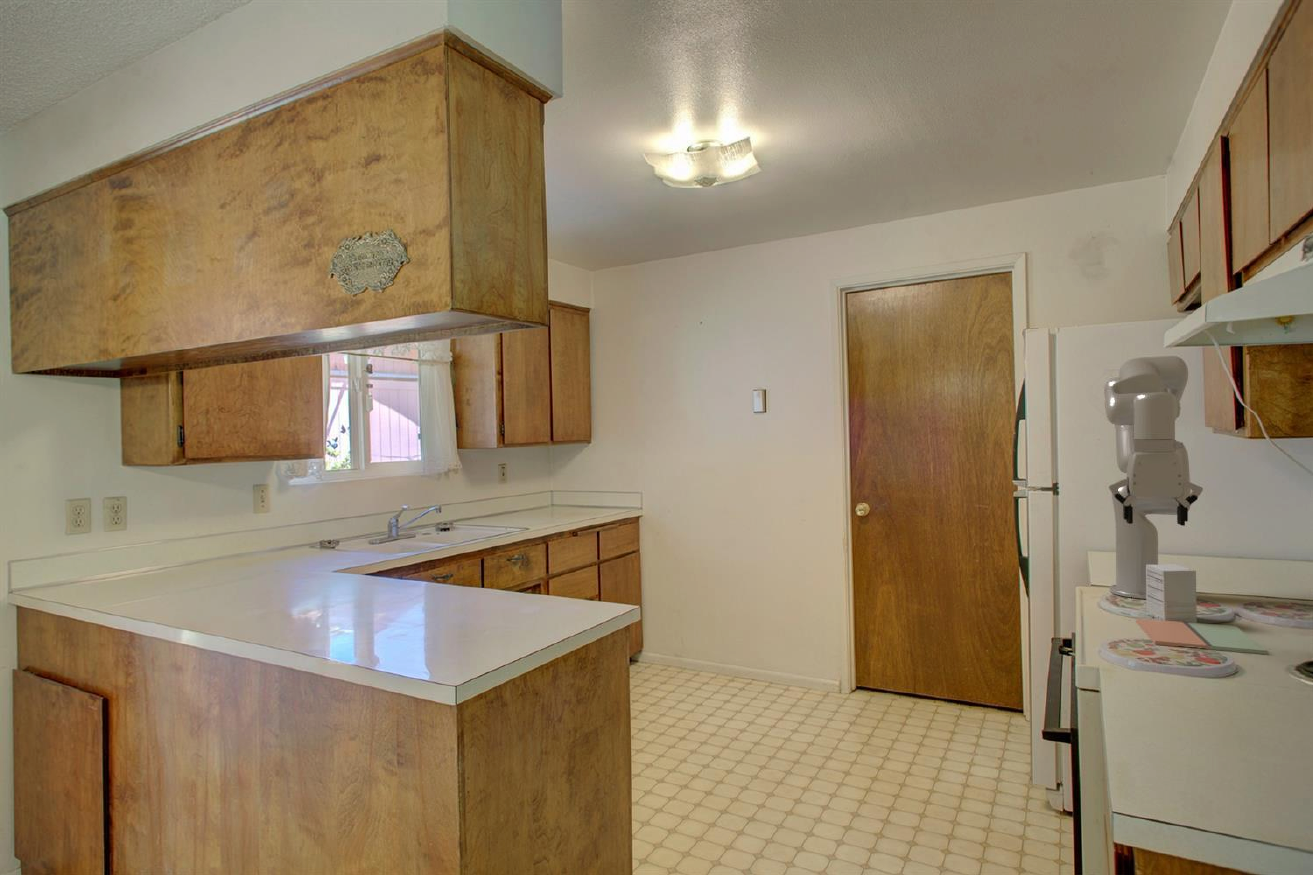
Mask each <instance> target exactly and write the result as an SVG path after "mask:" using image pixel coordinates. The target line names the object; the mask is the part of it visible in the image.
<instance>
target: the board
mask: <svg viewBox="0 0 1313 875" xmlns="http://www.w3.org/2000/svg"><path fill="white" fill-rule="evenodd" d="M1135 623H1136V624H1137V625H1138V626H1139V627H1140V628H1141V630H1142V631H1143V632H1144V633H1145V634H1146V636H1147V637H1148V638H1149V640H1150V641H1151V642H1152V643H1153V644H1154V645H1157V646H1167V647H1168V646H1169V647H1178V646H1194V647H1201V648H1206V649H1205V650H1212V651H1213V650H1214V651H1224V652H1236V653H1246V654H1258V655H1268V649H1266V648H1265V647H1263V646H1262V645H1261V644H1259V643H1258V642H1257V641H1255V640H1254V639H1253V638H1252V637H1250V636H1249V635H1248V634H1246V633H1245V632H1244V631H1243V630H1241V629H1240V628H1239V627H1237V626H1236V625H1227V624H1212V623H1201V622H1200V623H1199V622H1197V623H1190V622H1177V621H1164V620H1156V619H1148V618H1139V617H1138V618H1136V617H1135Z"/></svg>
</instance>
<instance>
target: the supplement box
mask: <svg viewBox="0 0 1313 875" xmlns="http://www.w3.org/2000/svg"><path fill="white" fill-rule="evenodd" d="M1145 600H1146V601H1145V603H1146V612H1147V611H1149V612H1151V613H1153V614H1154V615H1155V616H1156V617H1157V618H1158V620H1164V621H1177V622H1190V623H1198V621H1197V620H1198V619H1197V618H1198V617H1197V616H1198V615H1197V611H1198V610H1197V571H1196V570H1195V569H1192V568H1189V567H1186V566H1182V565H1180V564H1175V563H1173V564H1170V563H1169V564H1158V565H1146V599H1145Z"/></svg>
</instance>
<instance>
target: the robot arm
mask: <svg viewBox="0 0 1313 875" xmlns="http://www.w3.org/2000/svg"><path fill="white" fill-rule="evenodd" d="M1118 374H1119V375H1118V377H1113V378H1111V379H1109V380H1107V382H1105V385H1104V387H1103V388H1104V392H1103V395H1104V408H1105V414H1106V418H1107V420H1108V422H1110V423H1111V424H1113V425H1114V427H1115V447H1116V449H1115V450H1116V462H1117V468H1118V469H1119V471H1120V472H1121V473H1123V474H1126V478H1124V479H1120V480H1118V481H1116V482H1115V483H1112V484H1110V485H1109V486H1108V489H1109V491H1110V492H1111V499H1112V504H1113V510H1114V517H1115V518H1114V520H1115V521H1114V522H1115V583H1116V584H1113V585H1110V586H1109V592H1111V593H1112V594H1114V595H1118V596H1121V597H1126V598H1131V597H1132V599H1142V600H1143V599H1144V600H1146V565H1159V533H1158V530H1157V527H1156V526H1155V524H1154V523H1153V522H1151V520H1149V518H1148V517H1147V515H1168V516H1169V515H1171V516H1176V522H1177V524H1178V525H1179V526H1181V527H1182V526H1183V527H1185V526H1186V522H1188V521H1189V511H1190V510H1191V506H1192V505H1193V503H1195V502H1196V501H1198V500H1199V499H1198V498H1199V497H1200V496H1201V494H1202V492H1203V490H1204V489H1203V487H1202V486H1200V485H1198V484H1196V483H1192V482H1191V478H1190V476H1191V475H1190V465H1189V464H1190V463H1189V461H1190V460H1189V456H1188V454H1189V453H1188V450H1187V448H1186V446H1185V445H1184V443H1183V442H1181V441H1178V440H1177V439H1176V420H1177V419H1178V418H1179V417H1180V415H1181V402H1180V401H1181V399H1182V397H1183V394H1184V391H1185V389H1186V387H1187V383H1188V379H1189V370H1188V366H1187V363H1186V361H1185V360H1183V358H1181V357H1179V356H1177V355H1167V356H1166V355H1165V356H1149V357H1148V356H1147V357H1136V358H1132V359H1131V358H1130V359H1129V360H1127V361H1125V362H1124V363H1123V364H1122V365H1121V366H1120V368H1119V372H1118Z"/></svg>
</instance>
